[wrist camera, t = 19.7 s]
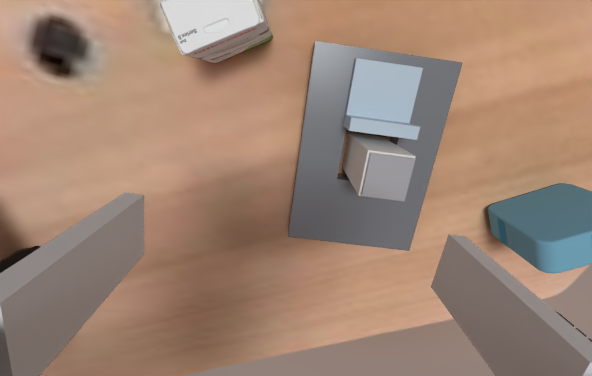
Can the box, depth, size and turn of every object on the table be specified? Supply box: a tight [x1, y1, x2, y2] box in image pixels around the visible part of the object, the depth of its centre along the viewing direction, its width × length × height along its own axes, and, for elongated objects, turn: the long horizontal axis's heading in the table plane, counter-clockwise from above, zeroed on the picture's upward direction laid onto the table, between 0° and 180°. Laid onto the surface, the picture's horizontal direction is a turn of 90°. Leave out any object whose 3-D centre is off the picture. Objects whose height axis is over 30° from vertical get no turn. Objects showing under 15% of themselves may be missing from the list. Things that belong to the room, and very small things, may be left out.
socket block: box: [288, 41, 462, 251], centre depth 42 cm, size 18×26×3 cm
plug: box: [342, 133, 416, 201], centre depth 38 cm, size 5×5×13 cm
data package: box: [488, 184, 592, 273], centre depth 41 cm, size 12×4×12 cm, turn 109°
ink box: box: [159, 0, 273, 63], centre depth 33 cm, size 9×5×12 cm, turn 111°
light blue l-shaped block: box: [343, 58, 423, 140], centre depth 36 cm, size 8×8×4 cm
